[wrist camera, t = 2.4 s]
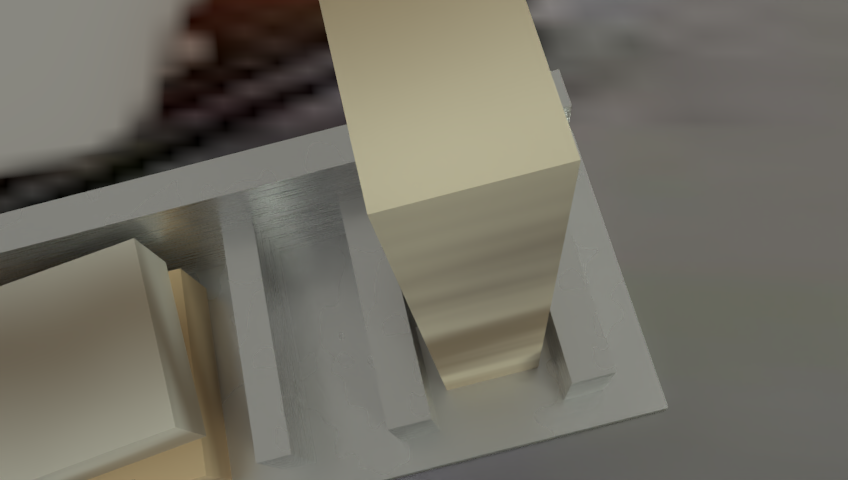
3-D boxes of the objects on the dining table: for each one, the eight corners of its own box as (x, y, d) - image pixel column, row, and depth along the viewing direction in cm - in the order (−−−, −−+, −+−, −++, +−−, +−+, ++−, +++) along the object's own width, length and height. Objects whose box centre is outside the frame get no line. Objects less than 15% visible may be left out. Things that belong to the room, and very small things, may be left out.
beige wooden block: (537, 367, 20) (580, 160, 8) (446, 390, 20) (367, 214, 8) (492, 209, 21) (477, -142, 10) (407, 231, 21) (297, -95, 10)
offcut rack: (663, 411, 19) (708, 380, 15) (-38, 588, 20) (-190, 606, 15) (570, 140, 22) (585, 49, 18) (-41, 297, 23) (-170, 244, 18)
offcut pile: (236, 478, 19) (180, 469, 16) (3, 537, 19) (-102, 540, 16) (209, 278, 21) (153, 233, 18) (-3, 333, 21) (-98, 297, 18)
